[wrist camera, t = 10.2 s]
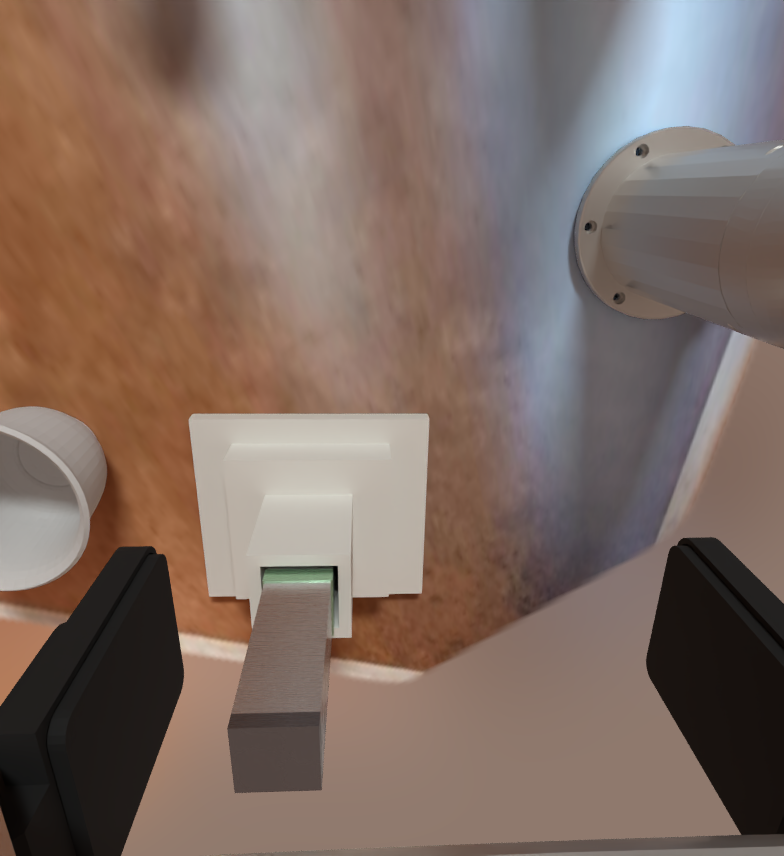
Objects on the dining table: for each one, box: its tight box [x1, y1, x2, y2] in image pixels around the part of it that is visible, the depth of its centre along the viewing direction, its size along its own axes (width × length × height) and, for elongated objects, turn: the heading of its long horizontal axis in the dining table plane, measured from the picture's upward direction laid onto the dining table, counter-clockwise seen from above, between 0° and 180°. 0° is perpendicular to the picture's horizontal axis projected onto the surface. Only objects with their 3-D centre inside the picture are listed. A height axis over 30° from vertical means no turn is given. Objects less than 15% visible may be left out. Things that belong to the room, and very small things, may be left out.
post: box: [228, 566, 336, 793], centre depth 35 cm, size 4×4×17 cm
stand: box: [189, 414, 429, 638], centre depth 43 cm, size 18×16×13 cm
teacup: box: [0, 407, 107, 591], centre depth 42 cm, size 12×15×10 cm
